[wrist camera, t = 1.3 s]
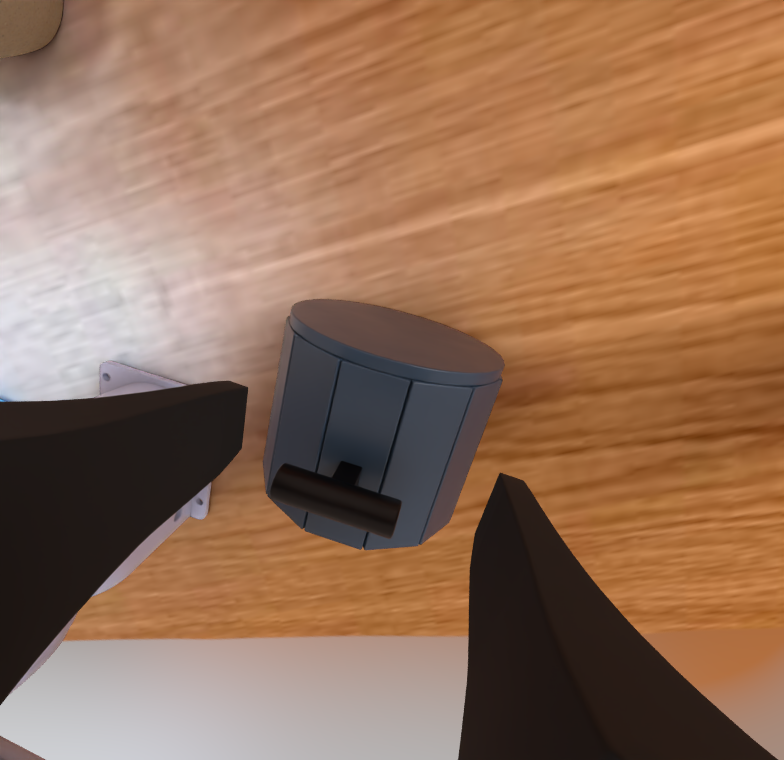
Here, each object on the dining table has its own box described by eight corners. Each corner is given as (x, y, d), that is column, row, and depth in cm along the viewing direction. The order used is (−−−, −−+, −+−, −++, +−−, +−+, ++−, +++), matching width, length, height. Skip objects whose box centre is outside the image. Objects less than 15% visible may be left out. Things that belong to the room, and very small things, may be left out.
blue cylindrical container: (495, 338, 21) (452, 460, 23) (332, 291, 21) (307, 414, 24) (531, 426, 10) (445, 630, 13) (207, 328, 11) (186, 540, 13)
